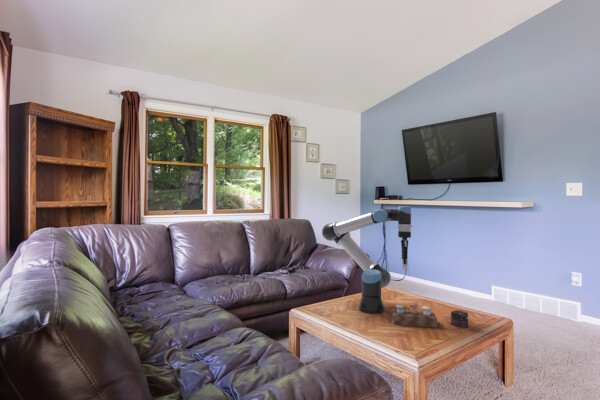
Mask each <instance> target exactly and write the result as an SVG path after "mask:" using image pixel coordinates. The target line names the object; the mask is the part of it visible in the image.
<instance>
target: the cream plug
mask: <svg viewBox="0 0 600 400" xmlns="http://www.w3.org/2000/svg"><path fill="white" fill-rule="evenodd" d="M422 311H423V315H430V311H432V307H431V306H428V305H427V306H425V305H424V306H422Z"/></svg>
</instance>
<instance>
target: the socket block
mask: <svg viewBox="0 0 600 400" xmlns="http://www.w3.org/2000/svg"><path fill="white" fill-rule="evenodd" d="M391 320H392V325H398V326H399V325H400V326H412V327H427V328H438V317H437V315H436V314H435V313H434V311H433V310H431V311H430V315H423V309H422V310H419V309H417V315H416V314H410V309H405V308H404V314H400V313H397V308H391Z"/></svg>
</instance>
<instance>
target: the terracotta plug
mask: <svg viewBox="0 0 600 400" xmlns="http://www.w3.org/2000/svg"><path fill="white" fill-rule="evenodd" d="M408 306H409V310H410V314H416V315H417V310H418V307H419V304H418V303H416V302H409V304H408Z"/></svg>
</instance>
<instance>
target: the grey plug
mask: <svg viewBox="0 0 600 400" xmlns="http://www.w3.org/2000/svg"><path fill="white" fill-rule="evenodd" d="M405 308H406V307H405V305H403V304H396V305H395V309H397V313H400V314H404V309H405Z"/></svg>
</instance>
